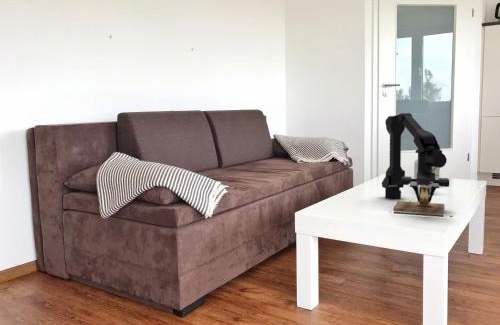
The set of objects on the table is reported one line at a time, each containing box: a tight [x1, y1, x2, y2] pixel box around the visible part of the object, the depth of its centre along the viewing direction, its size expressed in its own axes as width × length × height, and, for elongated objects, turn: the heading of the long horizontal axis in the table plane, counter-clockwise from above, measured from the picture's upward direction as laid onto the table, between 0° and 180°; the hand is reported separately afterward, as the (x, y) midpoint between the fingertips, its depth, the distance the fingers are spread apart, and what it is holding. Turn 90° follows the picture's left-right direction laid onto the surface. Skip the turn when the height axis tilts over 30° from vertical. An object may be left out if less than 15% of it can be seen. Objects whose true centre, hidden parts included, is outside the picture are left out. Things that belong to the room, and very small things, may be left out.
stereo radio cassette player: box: [413, 159, 441, 180], centre depth 254 cm, size 21×8×20 cm, turn 178°
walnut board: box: [393, 200, 445, 218], centre depth 197 cm, size 19×23×3 cm
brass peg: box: [419, 186, 430, 205], centre depth 190 cm, size 4×4×7 cm
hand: (424, 201), depth 191 cm, fingers closed on brass peg, 4 cm apart
